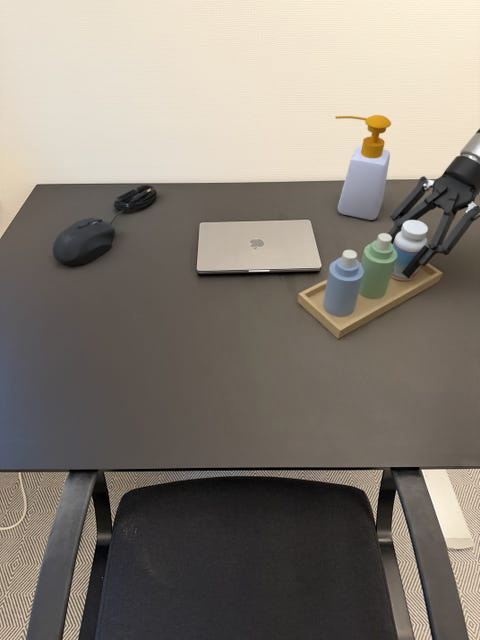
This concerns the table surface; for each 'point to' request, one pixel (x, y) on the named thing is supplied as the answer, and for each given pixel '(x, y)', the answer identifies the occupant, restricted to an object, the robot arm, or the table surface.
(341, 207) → the soap bottle
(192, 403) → the table surface
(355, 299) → the blue-grey bottle
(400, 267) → the pill bottle
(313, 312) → the tray
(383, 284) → the green bottle
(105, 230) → the computer mouse
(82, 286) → the table surface
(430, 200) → the robot arm
